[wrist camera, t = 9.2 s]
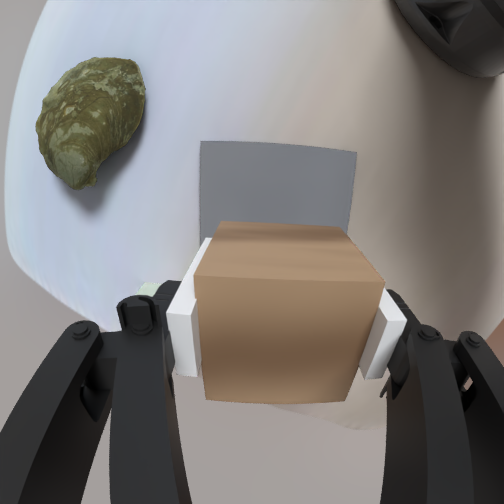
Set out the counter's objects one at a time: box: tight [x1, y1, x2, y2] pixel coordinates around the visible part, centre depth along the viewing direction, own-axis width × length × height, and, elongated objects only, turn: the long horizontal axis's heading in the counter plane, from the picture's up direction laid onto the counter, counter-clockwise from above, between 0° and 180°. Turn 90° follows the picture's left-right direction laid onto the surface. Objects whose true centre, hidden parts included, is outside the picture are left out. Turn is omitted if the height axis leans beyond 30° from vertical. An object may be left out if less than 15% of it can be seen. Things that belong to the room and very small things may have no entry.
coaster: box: [200, 141, 357, 245], centre depth 22 cm, size 12×12×1 cm
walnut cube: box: [193, 221, 385, 404], centre depth 12 cm, size 6×6×6 cm
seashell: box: [35, 57, 146, 190], centre depth 18 cm, size 10×7×10 cm
